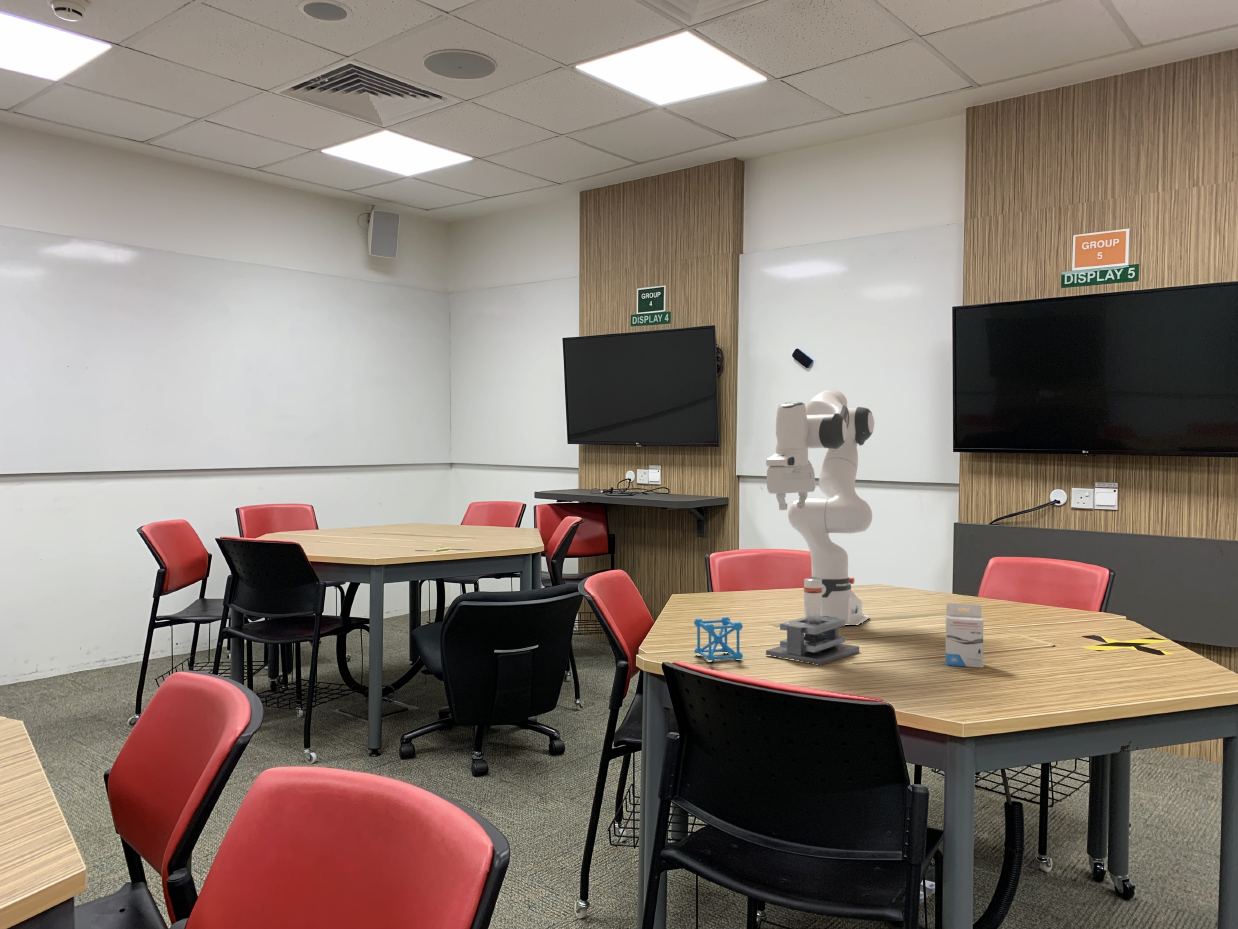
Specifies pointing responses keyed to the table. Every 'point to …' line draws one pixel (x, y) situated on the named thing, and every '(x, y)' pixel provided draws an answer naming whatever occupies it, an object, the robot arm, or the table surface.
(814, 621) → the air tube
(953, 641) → the ink box
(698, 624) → the molecular structure
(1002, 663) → the table surface
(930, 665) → the table surface
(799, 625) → the collar stand
